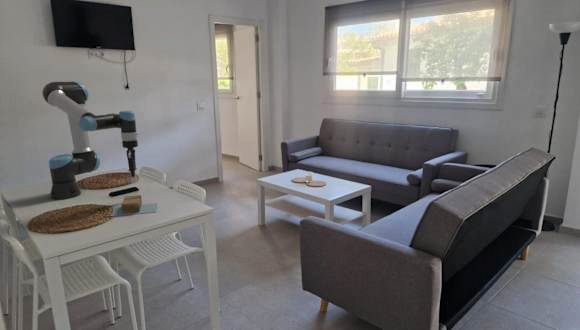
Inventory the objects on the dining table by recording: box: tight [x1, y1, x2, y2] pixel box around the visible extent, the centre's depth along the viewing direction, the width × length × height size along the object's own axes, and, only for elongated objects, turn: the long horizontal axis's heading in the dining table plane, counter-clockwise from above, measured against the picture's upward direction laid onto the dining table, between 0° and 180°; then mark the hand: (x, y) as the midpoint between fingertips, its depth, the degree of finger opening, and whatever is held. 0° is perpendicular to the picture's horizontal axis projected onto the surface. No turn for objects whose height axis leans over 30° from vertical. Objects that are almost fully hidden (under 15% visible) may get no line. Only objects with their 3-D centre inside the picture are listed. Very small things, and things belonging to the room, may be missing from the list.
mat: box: [111, 202, 158, 217], centre depth 186 cm, size 14×24×1 cm, turn 107°
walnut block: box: [120, 194, 143, 214], centre depth 187 cm, size 5×8×13 cm
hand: (133, 181), depth 201 cm, fingers closed
